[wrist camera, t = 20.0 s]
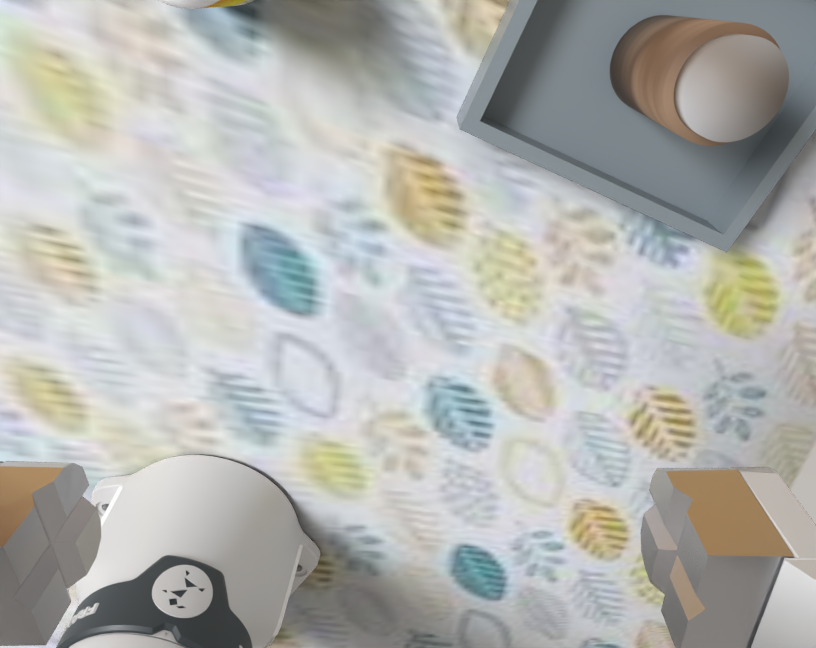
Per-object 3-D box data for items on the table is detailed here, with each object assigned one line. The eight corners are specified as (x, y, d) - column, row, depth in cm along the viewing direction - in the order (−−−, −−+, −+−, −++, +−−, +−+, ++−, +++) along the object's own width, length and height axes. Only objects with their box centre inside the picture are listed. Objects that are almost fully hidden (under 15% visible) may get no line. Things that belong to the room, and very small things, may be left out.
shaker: (670, 123, 36) (752, 169, 26) (593, 91, 35) (650, 127, 26) (719, 35, 33) (826, 52, 24) (638, 0, 33) (717, 3, 24)
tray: (703, 231, 39) (726, 252, 36) (456, 117, 37) (459, 129, 34) (864, 0, 33) (908, 1, 30) (582, -159, 30) (600, -176, 27)
